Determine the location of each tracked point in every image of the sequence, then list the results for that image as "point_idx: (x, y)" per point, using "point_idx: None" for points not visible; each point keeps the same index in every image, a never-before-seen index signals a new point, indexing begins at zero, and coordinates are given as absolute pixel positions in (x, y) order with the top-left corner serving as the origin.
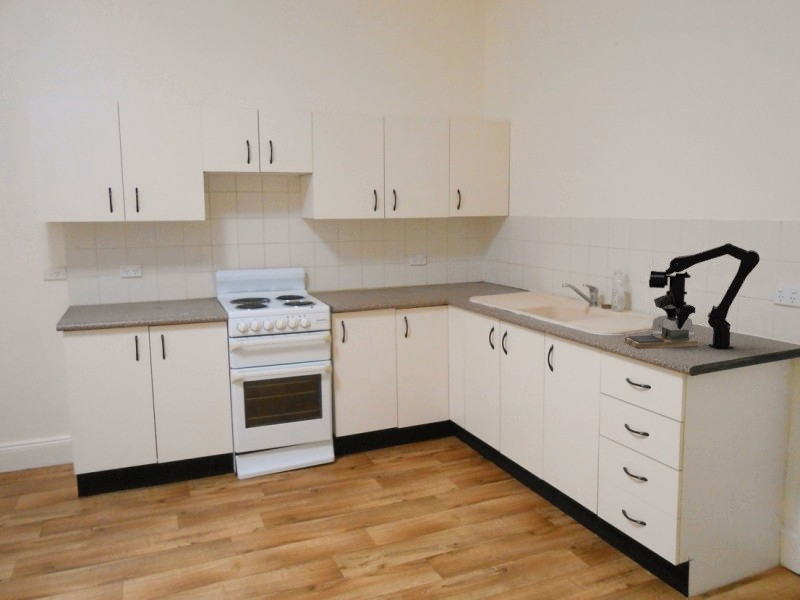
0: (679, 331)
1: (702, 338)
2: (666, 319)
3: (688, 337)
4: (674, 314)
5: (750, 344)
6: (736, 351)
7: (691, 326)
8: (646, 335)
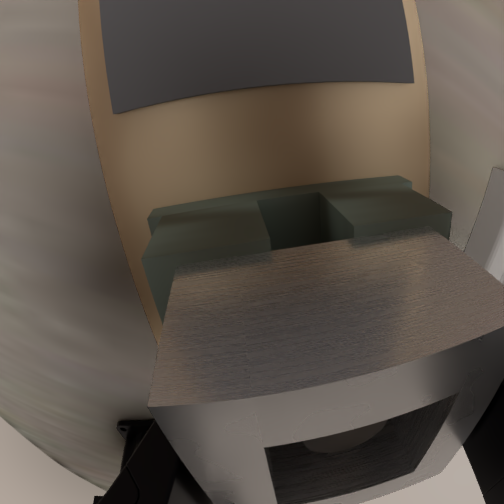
0: None
1: None
2: (446, 333)
3: None
4: (489, 468)
5: None
6: (95, 449)
7: None
8: (402, 16)
